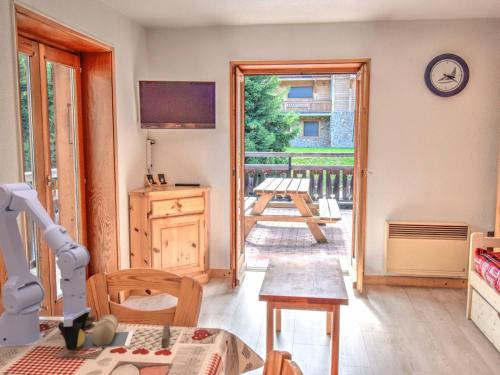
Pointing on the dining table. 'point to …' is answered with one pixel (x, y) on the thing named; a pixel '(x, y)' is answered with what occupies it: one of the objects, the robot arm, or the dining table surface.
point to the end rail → (165, 335)
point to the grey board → (117, 341)
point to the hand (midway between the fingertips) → (75, 343)
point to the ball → (81, 338)
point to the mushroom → (90, 319)
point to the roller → (104, 330)
